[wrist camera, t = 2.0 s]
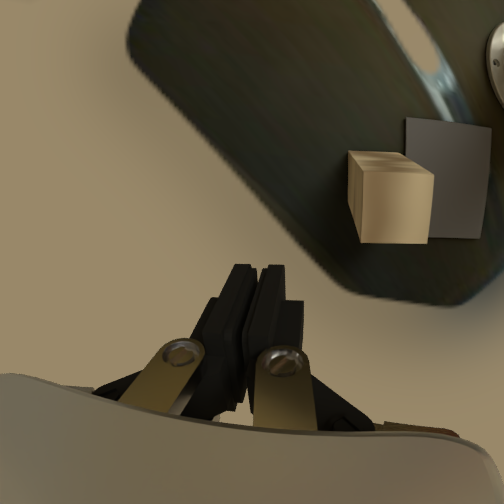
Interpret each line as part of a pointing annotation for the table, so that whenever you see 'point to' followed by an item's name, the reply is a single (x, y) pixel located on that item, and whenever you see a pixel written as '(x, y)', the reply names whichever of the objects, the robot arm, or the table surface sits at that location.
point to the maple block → (389, 197)
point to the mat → (452, 173)
